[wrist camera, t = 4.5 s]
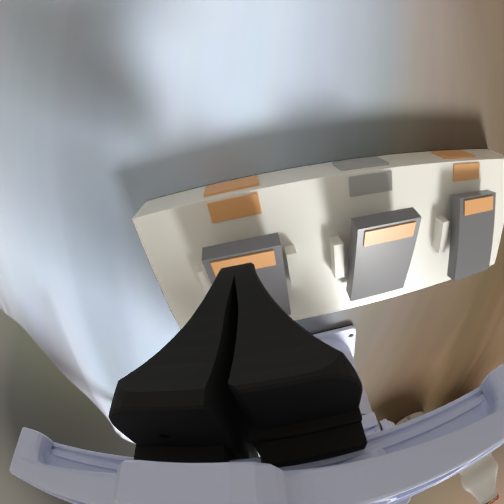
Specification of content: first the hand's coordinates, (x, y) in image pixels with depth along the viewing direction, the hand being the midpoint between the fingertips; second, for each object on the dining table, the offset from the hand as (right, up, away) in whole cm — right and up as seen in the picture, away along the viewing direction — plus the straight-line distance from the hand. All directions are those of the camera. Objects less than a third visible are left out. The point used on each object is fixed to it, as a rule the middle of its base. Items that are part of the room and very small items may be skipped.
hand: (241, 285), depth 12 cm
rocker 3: (+16, +3, +4) cm, 17 cm away
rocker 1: (0, 0, +5) cm, 5 cm away
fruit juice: (+48, -36, +34) cm, 69 cm away
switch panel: (+8, +3, +8) cm, 12 cm away
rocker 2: (+8, +1, +4) cm, 9 cm away
